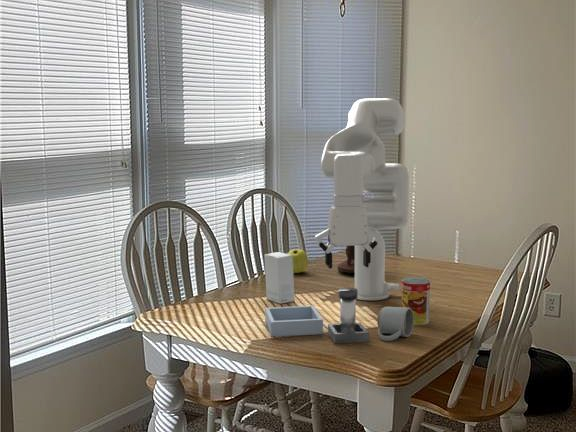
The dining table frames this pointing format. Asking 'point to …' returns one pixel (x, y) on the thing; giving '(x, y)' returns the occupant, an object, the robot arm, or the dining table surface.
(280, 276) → the skincare box
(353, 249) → the brown carved statue
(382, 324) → the ceramic mug
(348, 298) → the black capped silver cylinder
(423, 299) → the canned food
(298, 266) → the apple
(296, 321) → the bin
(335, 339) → the socket collar
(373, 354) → the dining table surface
